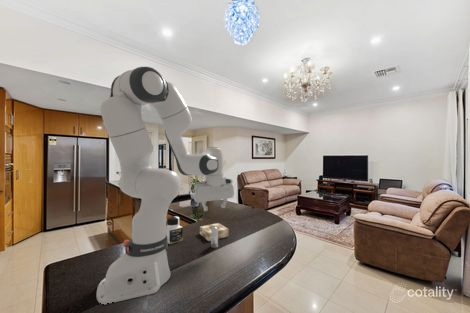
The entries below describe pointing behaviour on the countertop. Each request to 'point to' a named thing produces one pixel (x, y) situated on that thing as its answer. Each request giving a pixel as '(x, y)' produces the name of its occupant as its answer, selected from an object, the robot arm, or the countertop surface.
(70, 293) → the countertop surface
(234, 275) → the countertop surface
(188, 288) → the countertop surface
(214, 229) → the pin
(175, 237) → the medicine bottle
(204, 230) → the socket block
